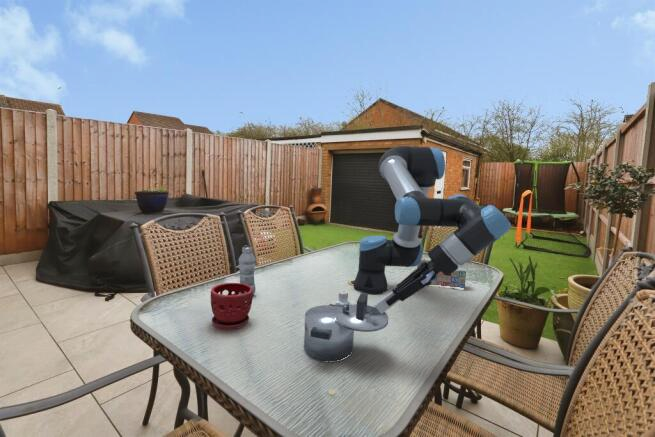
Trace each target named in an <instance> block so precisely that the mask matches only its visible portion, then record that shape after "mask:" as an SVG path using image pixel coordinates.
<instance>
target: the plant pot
mask: <svg viewBox="0 0 655 437" xmlns="http://www.w3.org/2000/svg"><path fill="white" fill-rule="evenodd" d="M224 291H227V294H223V292H224ZM245 291H246V293H245ZM233 292H234V293H233ZM240 292H241V293H242V294H239V293H240ZM253 296H254V295H253V288H252V287H251V286H249V285H247V284H242V283H240V282H226V283H220V284H217V285H215V286H213V287H212V288H211V290H210V307H211V312H212V314H213V316H212V317H211V323H212V324H213V325H214V326H215V327H216V328H217V329H221V330H235V329H238V328H242V327H243V326H245V325H246V324H247V323H248V322H249V320H250V315H249V313H250V311H251V309H252V304H253V299H254V298H253Z"/></svg>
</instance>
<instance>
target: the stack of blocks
mask: <svg viewBox="0 0 655 437" xmlns="http://www.w3.org/2000/svg"><path fill="white" fill-rule="evenodd" d="M430 260H431V259H430V257H424V256H422V259H421V261H420V263H419V264H418V265H417V266H416V269H417V268H418V267H419V266H420V265H421V263H424V262H426V263H427V262H429V261H430ZM466 276H467V270H466V268H465V267H463V266H462V267H460V266H458V269H457V270H455V271H454V272H453V273H451V274H450V275H448V276H446V275H444V274H443V273H442V272H439V273H438V274H437V275H436V278H435V279H433V280H432V281H431V282H432V283H431V284H430V285H441V286H450V287H460V288H466V287H465V286H466V279H467V277H466Z"/></svg>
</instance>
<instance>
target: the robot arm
mask: <svg viewBox="0 0 655 437" xmlns="http://www.w3.org/2000/svg"><path fill="white" fill-rule="evenodd" d="M445 170H446V159H445V156H444V152H443V150H442V149H440V148H438V147H431V146H414V145H413V146H411V145H409V146H408V145H407V146H406V145H399V146H395V147H392V148H390V149H388V150H387V151H386V152H384V153H383V154H382V156H381V157H380V159H379V163H378V171H379V174H380V175H381V177H382V178H383V179H384V180H385V181H387V183H388V184H389V187H390V189H391V191H392V193H393V196H394V197H395V199H396V202H395V205H394V217H395V221H396V223H397V224H398V229H397V232H395V233H394V234H393V236H392V239H388V238H387V237H386V236H384V235H368V236H365V237H363V238H361V239H360V242H359V248H358V251H359V252H358V267H357V268H358V269H357V270H358V271H357V274H356V276H355V279H354V281H353V289H354V290H356V291H357V292H360V293H362V294H367V293H368V295H379V294H378V293H381V294H384V293H383V292H385V293H387V292H386V291H388V288H389V283H388V281H387V276H386V273H385V271H386V267H400V268H402V267H404V268H412V267H416V268H415V269H414V270H413V271H412V272H411V273H410V274H408V276H406V277H404V279H403V280H402V281H401V282H399V283H398V284H396V287H395V288H392V290H391V292H390V293H388V294H387V295H385V296H384V297H383V298H382V299H380V300H379V301H378V302H376V303H375V305H374V307H376V308H377V309H378V311H379V312H380V313H381V314H382V313H384V312H385V313H386V312H387V310H389V309H390V308H391V307H393V306H394V305H396V304H397V303H398V302H400V301H401V302H404V301H405V300H406V299H409V298H410V297H411V296H413V295H415V294H416V293H417V292H419V291H421V290H422V289H424V288H425V287H429V286H428V285H430V284H431V283H432V282H431V281H432V280H433V279H435V278H436V275H437V274H438V273H439V272H442V273H443V274H444V275H446V276H448V275H450V274H451V273H453V272H454V271H455V270H457V269H458V267H459V266H464V264H466V263H468V262H469V263H471V262H472V261H473V259H472V258H474V257H475V256H477V255H478V254H479V253H481V252H482V251H484V250H485V249H487V248H488V247H489V246H491V245H493V243H495V242H496V241H497V240H500V239H501V237H503V236H504V235H505V234H507V232H509V231H510V230H511V227H512V225H511V222H510V220H509V219H508V217H506V215H505V214H503V212H501V211H500V210H499V209H498V208H497V207H496V206H495V205H493V204H488V205H486V206H485V207H483V208H481V206H479V205H478V204H477V203H476V202H475V201H474V200H473V199H472V198H469V197H468V196H466V195H464V194H459V193H458V194H457V193H456V194H454V195H452V196H449V197H448V198H439V197H438V198H437V197H436V198H433V197H429V194H430V193H429V192H430V189H431V188H433V187H434V186H435V185H436V181H437V180H440V179H441V180H442V179H443V177H444V175H445ZM421 227H443V228H444V227H447V228H448V227H449V228H451V227H453V228H457V229H456V230H455V231H453V232H451V233H450V234H449V235H447V236H446V237H445V238H444V239H442V240H441V241H440V244H436V245H435V246H434V247H433V248H431V249H430V250H429V251H428V252H427V255H428V258H430V259H431V260H430V261H429V262H427V263H426V262H424V263H421V265H420V266H419V267H418V268H417V266H418V264H419V263H420V261H421V259H422V257H423V252H424V246H423V243H422V242H421V239H420V238H419V234H420V228H421Z"/></svg>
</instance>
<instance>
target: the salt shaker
mask: <svg viewBox="0 0 655 437" xmlns="http://www.w3.org/2000/svg"><path fill="white" fill-rule="evenodd" d="M348 298H349V292H348V291H346V290H340V291H338V300H336V301H335V304H334V305H340V306H343V305H344V304H347V305H351V301H349V300H348Z"/></svg>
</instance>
